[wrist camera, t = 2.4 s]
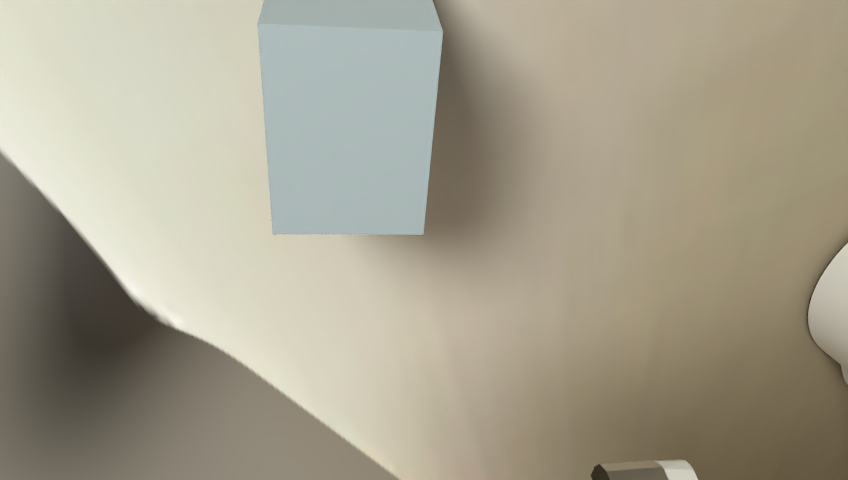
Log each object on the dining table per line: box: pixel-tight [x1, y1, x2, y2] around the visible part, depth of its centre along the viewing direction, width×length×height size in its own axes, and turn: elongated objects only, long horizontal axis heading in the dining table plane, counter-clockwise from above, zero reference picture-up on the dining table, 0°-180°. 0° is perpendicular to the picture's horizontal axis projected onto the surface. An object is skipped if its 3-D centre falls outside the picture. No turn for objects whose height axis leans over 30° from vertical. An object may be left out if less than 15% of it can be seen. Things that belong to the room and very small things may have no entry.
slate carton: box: [258, 0, 443, 235], centre depth 23 cm, size 5×7×8 cm
